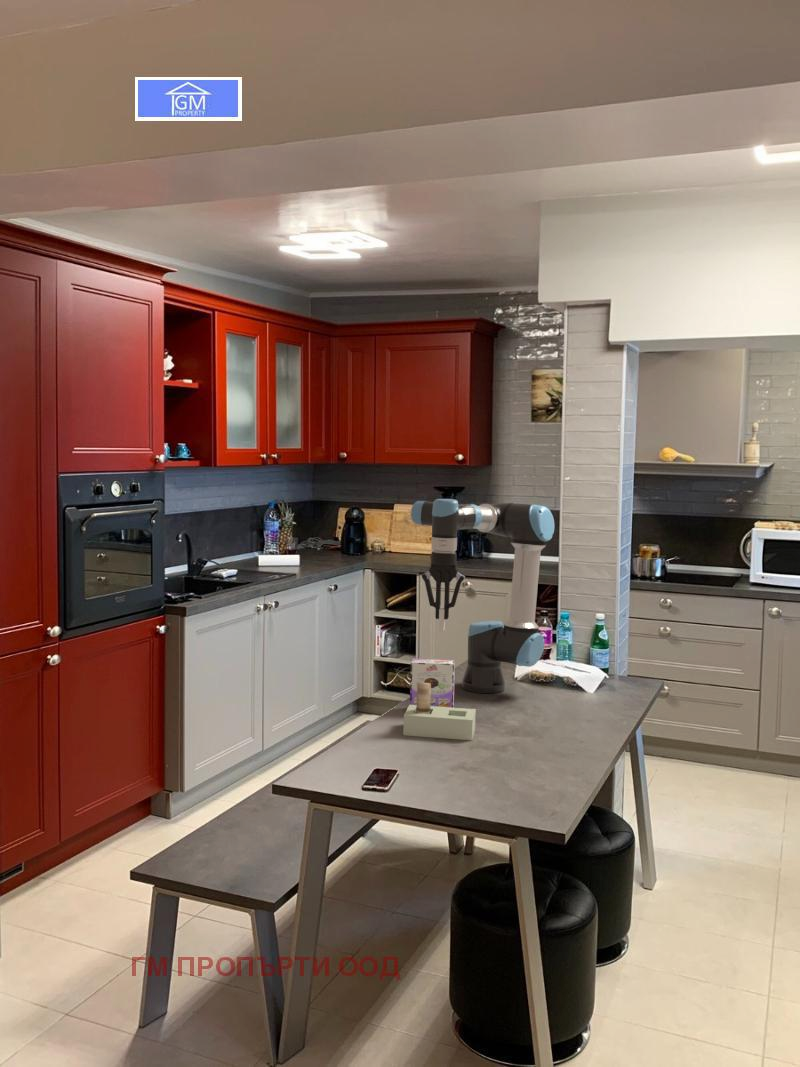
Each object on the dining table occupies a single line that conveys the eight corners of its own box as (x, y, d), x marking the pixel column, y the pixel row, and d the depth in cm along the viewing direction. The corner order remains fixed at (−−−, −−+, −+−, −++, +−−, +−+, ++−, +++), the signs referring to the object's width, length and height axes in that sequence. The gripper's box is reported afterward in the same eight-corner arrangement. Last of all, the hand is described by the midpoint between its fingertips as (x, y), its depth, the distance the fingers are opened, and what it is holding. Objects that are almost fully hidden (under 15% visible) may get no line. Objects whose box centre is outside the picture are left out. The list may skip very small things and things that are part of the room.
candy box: (453, 709, 304) (455, 659, 302) (452, 715, 298) (454, 663, 296) (410, 707, 305) (412, 657, 303) (409, 713, 299) (410, 661, 297)
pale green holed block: (409, 723, 288) (409, 704, 287) (475, 728, 285) (475, 709, 284) (403, 735, 277) (403, 715, 276) (471, 740, 274) (472, 720, 273)
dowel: (416, 728, 284) (418, 682, 283) (430, 729, 283) (431, 683, 282) (414, 732, 280) (416, 685, 279) (428, 733, 279) (430, 686, 278)
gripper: (420, 551, 279) (418, 631, 281) (464, 553, 277) (462, 633, 279) (423, 548, 286) (421, 626, 289) (467, 550, 284) (464, 628, 286)
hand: (441, 629), depth 284 cm, fingers closed
